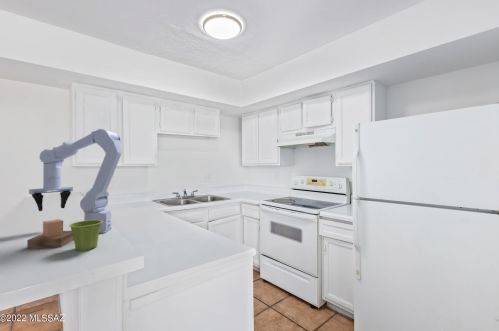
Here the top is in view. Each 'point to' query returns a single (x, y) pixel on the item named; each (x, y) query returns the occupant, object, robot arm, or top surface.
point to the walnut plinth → (50, 240)
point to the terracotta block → (52, 228)
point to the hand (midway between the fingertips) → (51, 209)
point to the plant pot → (85, 234)
